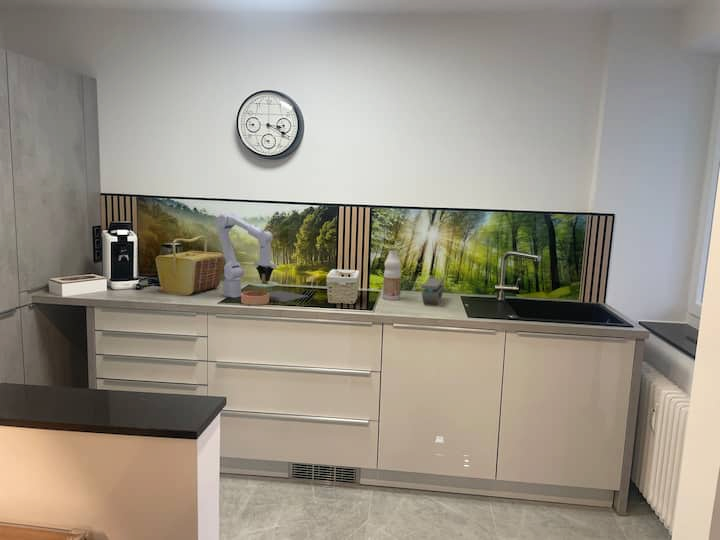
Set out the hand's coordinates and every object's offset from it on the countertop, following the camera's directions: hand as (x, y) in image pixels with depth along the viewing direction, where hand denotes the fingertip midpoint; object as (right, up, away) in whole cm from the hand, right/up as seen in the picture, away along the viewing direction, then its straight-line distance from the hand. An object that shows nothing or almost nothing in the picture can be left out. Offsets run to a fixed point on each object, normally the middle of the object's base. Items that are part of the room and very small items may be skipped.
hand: (264, 280), depth 301 cm
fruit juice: (+67, -10, +15) cm, 69 cm away
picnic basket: (-45, -6, +22) cm, 50 cm away
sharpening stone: (+89, -12, +10) cm, 90 cm away
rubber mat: (+7, -9, +11) cm, 16 cm away
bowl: (-4, -11, -5) cm, 13 cm away
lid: (0, -2, 0) cm, 2 cm away
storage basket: (+40, -11, +9) cm, 43 cm away
